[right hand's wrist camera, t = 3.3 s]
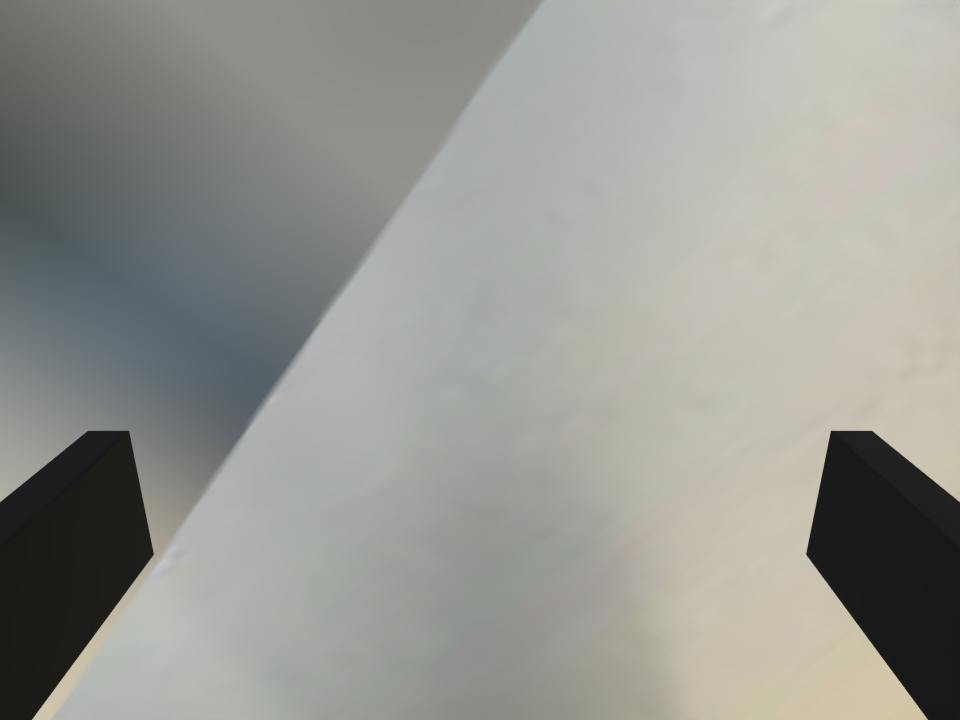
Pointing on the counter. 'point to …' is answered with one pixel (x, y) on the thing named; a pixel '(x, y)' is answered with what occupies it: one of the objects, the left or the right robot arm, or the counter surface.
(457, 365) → the counter surface
